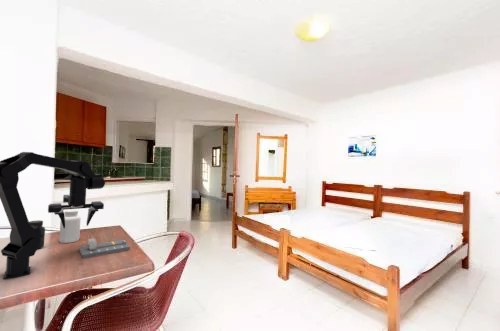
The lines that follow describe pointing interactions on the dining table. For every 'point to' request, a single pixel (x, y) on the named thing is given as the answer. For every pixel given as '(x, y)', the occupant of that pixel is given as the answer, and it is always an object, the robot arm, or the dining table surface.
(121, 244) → the console
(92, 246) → the fader
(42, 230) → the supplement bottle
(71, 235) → the pill bottle
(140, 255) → the dining table surface
